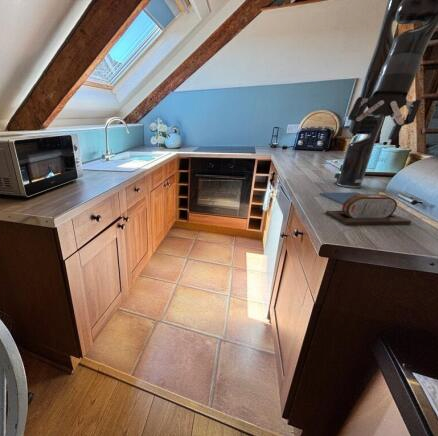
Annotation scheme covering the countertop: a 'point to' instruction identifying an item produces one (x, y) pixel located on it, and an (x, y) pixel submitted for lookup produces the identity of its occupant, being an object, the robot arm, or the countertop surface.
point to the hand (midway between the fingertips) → (371, 137)
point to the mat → (339, 196)
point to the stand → (368, 219)
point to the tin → (369, 206)
